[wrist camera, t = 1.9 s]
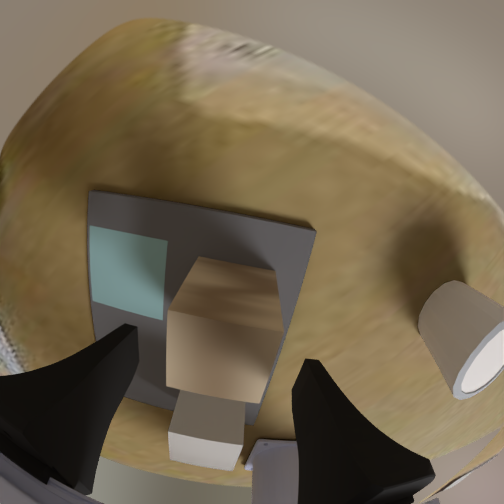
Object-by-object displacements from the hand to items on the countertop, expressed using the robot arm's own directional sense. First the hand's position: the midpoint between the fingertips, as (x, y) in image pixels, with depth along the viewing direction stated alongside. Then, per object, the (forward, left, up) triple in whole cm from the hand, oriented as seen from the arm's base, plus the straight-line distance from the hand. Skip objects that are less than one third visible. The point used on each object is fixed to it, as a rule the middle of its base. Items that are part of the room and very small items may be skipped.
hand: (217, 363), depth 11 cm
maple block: (0, 0, -6) cm, 6 cm away
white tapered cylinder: (-17, -1, -7) cm, 18 cm away
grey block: (0, +9, -6) cm, 11 cm away
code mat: (+3, +4, -7) cm, 8 cm away
